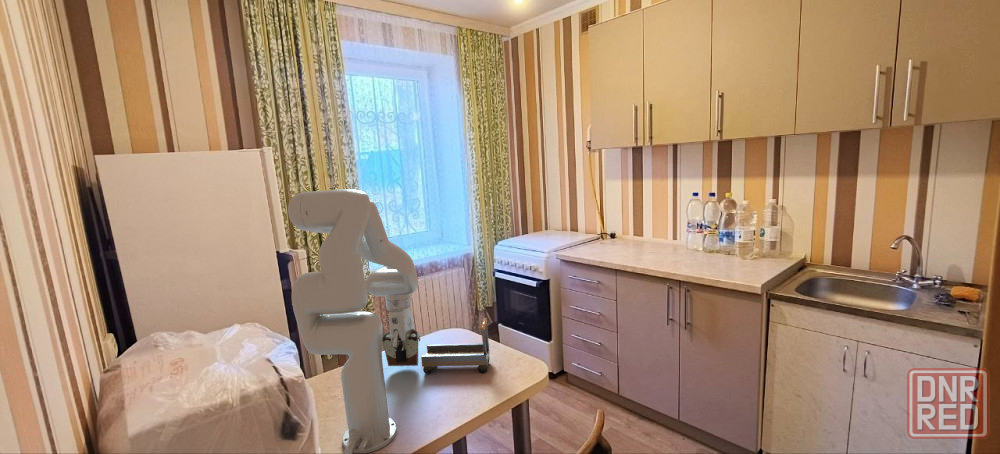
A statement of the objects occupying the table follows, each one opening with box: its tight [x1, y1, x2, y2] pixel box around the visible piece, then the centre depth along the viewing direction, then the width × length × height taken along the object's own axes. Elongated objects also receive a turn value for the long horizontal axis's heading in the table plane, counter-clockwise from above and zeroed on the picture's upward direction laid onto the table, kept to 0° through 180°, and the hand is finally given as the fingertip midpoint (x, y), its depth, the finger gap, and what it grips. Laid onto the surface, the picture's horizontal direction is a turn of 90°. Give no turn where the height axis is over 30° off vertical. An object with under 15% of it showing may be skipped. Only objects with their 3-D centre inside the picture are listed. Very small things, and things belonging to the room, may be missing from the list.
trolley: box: [420, 317, 491, 375], centre depth 132 cm, size 8×20×15 cm, turn 86°
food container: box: [382, 328, 421, 367], centre depth 134 cm, size 12×6×10 cm, turn 85°
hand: (404, 356), depth 134 cm, fingers closed on food container, 5 cm apart
